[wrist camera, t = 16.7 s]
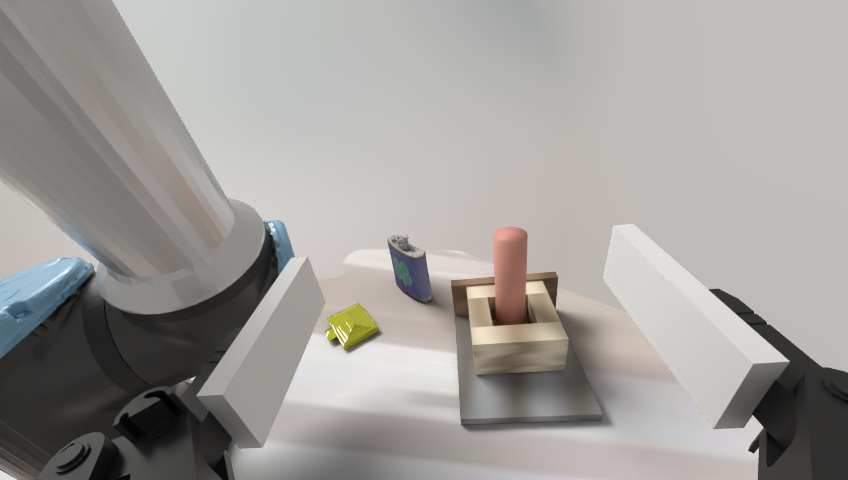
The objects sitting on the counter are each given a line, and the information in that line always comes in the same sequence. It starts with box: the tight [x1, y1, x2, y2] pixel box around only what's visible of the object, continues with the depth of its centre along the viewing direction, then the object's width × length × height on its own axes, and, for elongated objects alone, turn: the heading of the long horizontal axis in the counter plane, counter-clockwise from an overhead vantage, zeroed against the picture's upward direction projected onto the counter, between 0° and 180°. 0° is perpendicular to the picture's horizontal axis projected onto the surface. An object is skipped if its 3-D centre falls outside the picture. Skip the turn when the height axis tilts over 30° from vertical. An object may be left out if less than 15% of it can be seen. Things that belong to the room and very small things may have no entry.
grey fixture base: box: [451, 272, 603, 425], centre depth 38 cm, size 14×16×6 cm
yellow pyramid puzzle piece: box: [324, 303, 378, 350], centre depth 48 cm, size 10×9×3 cm
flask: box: [388, 235, 433, 304], centre depth 51 cm, size 9×3×11 cm, turn 37°
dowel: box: [493, 227, 527, 326], centre depth 37 cm, size 4×4×14 cm
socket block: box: [466, 280, 569, 375], centre depth 39 cm, size 10×10×5 cm
